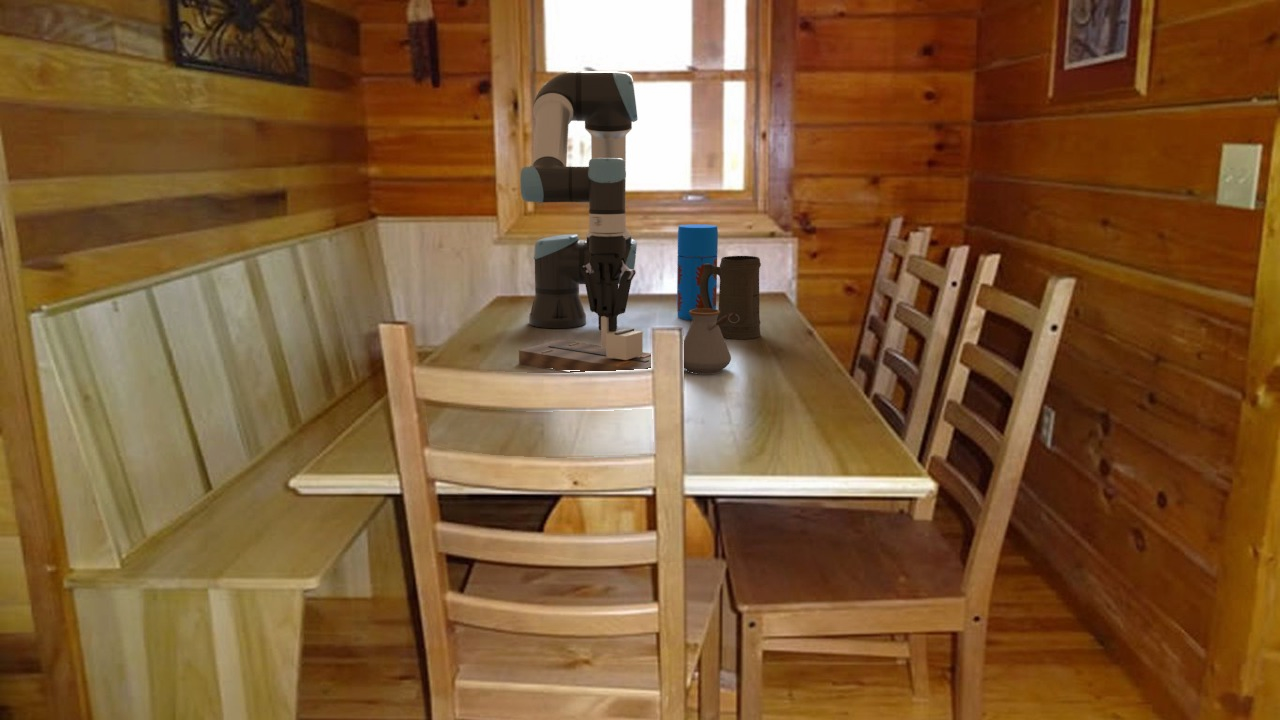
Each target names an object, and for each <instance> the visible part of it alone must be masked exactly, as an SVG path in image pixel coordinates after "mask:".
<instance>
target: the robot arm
mask: <svg viewBox="0 0 1280 720" xmlns="http://www.w3.org/2000/svg"><path fill="white" fill-rule="evenodd" d="M532 106H533V107H532V108H533V109H532V114H533V118H534V120H535V129H534V139H533V140H534V141H533V149H532V150H533V152H532V160H531V161H532V163H531V165H530V166H524V167H522V168H521V170H520V176H519V177H520V180H519V184H520V195H521V198H522V201H524V202H527V203H528V202H529V203H538V204H542V203H588V206H589V207H588V208H589V210H588V215H589V216H588V228H589V229H588V232H586V239H580V237H579V235H578V234H576V233H573V234H559V235H554V236H549V237H547V236H546V237H544V238H540V239H538V240H537V241H536V242H535V244H534V251H533V252H534V256H533V260H534V291H535V292H534V298H533V301H532V305H531V308H530V309H531V310H530V313H529V317H528V318H529V319H528V320H529V321H528V323H529V325H530V326H532V327H536V328H542V329H543V328H544V329H568V328H576V327H581V326H584V325H586V323H587V315H586V312H585V309H584V305H583V302H582V298H581V296H580V285H585V290H586V295H587V299H588V305H589V310H590V312H591V313H596V314H597V317H598V330H599V331H600V341H601V342H600V346H601V347H605V348H606V333H610V332H614V331H617V330H618V316H620V315H622V314H624V313H626V309H627V305H628V300H629V294H630V289H631V285H632V280H633V279H634V277H635V275H636V270H635V266H636V265H635V264H636V257H637V255H636V254H637V247H638V246H637V243H638V242H637V240H635V239H633V238H632V233H631V232H630V230H629V229H628V228H626V226H627V225H626V222H627V221H626V184H627V183H626V178H627V171H626V162H627V161H626V160H627V159H626V155H627V154H626V152H627V151H626V149H627V148H626V145H627V144H626V142H627V141H626V137H627V136H626V135H627V134H628V133H630V131H632V128H633V126H632V122H633V123H634V122H637V121H638V118H639V117H638V111H637V102H636V95H635V86H634V79H633V75H631V74H630V73H629V72H623V71H613V70H606V71H604V70H603V71H601V70H600V71H598V70H597V71H576V70H575V71H566V72H562V73H560V74H557V75H556V76H554V77H553V78H550V80H549V81H547V82H546V83H545V84H543V86H542V87H541V88H540V90H538V93H537V94H536V95H535V98H534V101H533V105H532ZM573 121H574V122H584V129H585V130H586V131H587V132H588V134H589V135H590V136H591V137H590V138H591V139H590V141H591V143H590V146H591V147H590V148H591V151H590V152H591V154H590V155H591V159H589V160H588V166H567V160H568V145H569V144H568V142H569V141H568V139H569V125H570V123H571V122H573Z"/></svg>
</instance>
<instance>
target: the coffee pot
mask: <svg viewBox="0 0 1280 720" xmlns="http://www.w3.org/2000/svg"><path fill="white" fill-rule="evenodd" d="M719 313H720V311H719V310H718V309H717V308H716V309H707V308H701V309H692V310H690V311H689V314H690V315H691V318H692V320H691V323H690V326H689V328H688V330H687V332H686V335H685V336H684V339H683V341H684V368H683V369H684V370H686V369H687V371H686V372H687V373H689V372H693V373H697V374H696V375H706V376H707V375H717V374H719V373H722V372H723V370H724V369H725V368H727V366H729V364H730V363H731V360H732V356H731V353H730V351H729V347H728V346H727V344H726V340H725V338H723V335H722V333H721V330H720V328H719V325H721V324H723V323H725V322H727V321H728V320H729V321H730V320H731V319H732V318H733V317H734V316H735V315H736V314H735V313H731V314H727V316H723V317H722V318H721V319H720V320H718V321H717V317H718V314H719ZM737 316H738V315H737ZM738 318H739V316H738ZM738 321H739V319H738ZM738 321H737V322H738ZM730 322H731V321H730ZM731 323H734V322H731ZM735 323H736V322H735ZM688 371H689V372H688ZM693 373H692V374H693Z"/></svg>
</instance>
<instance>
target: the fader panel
mask: <svg viewBox="0 0 1280 720" xmlns="http://www.w3.org/2000/svg"><path fill="white" fill-rule="evenodd" d="M651 353H652V352H644V351H643V355H641V356H637V357H634V358H631V359H628V360H622V359H616V358H609V357H606V348H605V347H601V345H599V344H592V343H591V344H590V343H585V342H584V343H583V342H577V341H571V340H564V339H557V340H554V341H549V342H546V343H542V344H538V345H534V346H530V347H527V348H523V349H520V350H519V349H518V363H519V365H525V366H530V367H536V368H541V369H546V368H553V369H555V370H554V371H557V370H580V371H570V372H585V371H616V370H634V369H648V368H651Z"/></svg>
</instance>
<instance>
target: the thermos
mask: <svg viewBox="0 0 1280 720" xmlns="http://www.w3.org/2000/svg"><path fill="white" fill-rule="evenodd" d="M718 233H719V231H718V225H714V224H713V225H712V224H680V225H678V229H677V265H676V266H677V269H676V271H677V272H676V273H677V277H676V278H677V281H676V283H677V284H676V285H677V286H676V290H677V291H676V306H677V307H676V308H677V311H676V312H677V317H678V319H681V320H686V321H687V320H688V321H693V320H692V318H691V315H690V314H689V311H690V310H692V309H701V308H705V306H704V304H703V301H702V298H701V295H700V280H701V277H702V274H703V271H704V264H707V263H710V264H712V265H713V266H717V267H718V244H719V240H718V239H719V238H718V237H719V235H718ZM717 286H718V275H717V274H712V275H711V276H710V277H709V281H708V293H709V297H710V302H711V305H712V308H713V309H716V310H717V296H718V295H717V293H718V287H717Z"/></svg>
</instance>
